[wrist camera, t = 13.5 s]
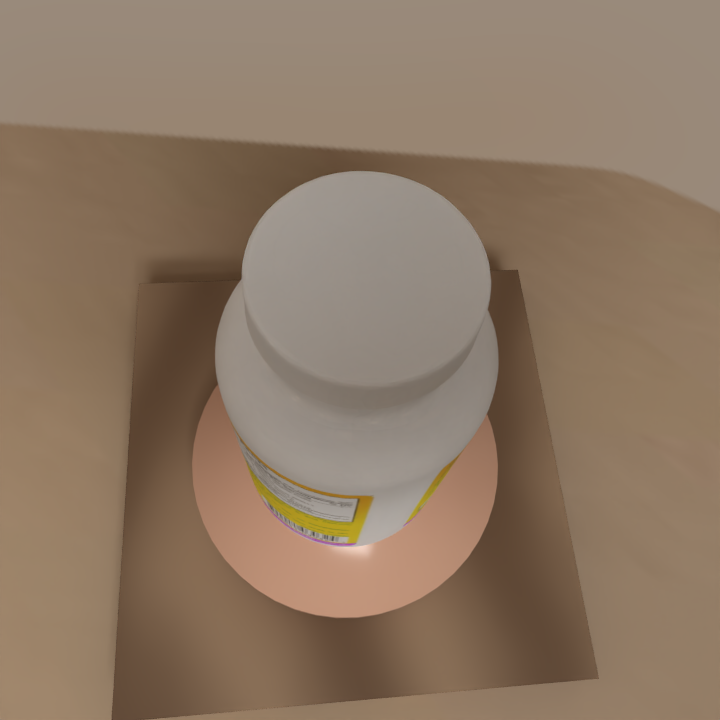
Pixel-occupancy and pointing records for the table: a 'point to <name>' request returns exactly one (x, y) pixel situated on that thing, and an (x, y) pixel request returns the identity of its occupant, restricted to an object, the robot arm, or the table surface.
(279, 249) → the supplement bottle
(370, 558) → the pink dome
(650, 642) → the table surface
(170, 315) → the square brown tray
